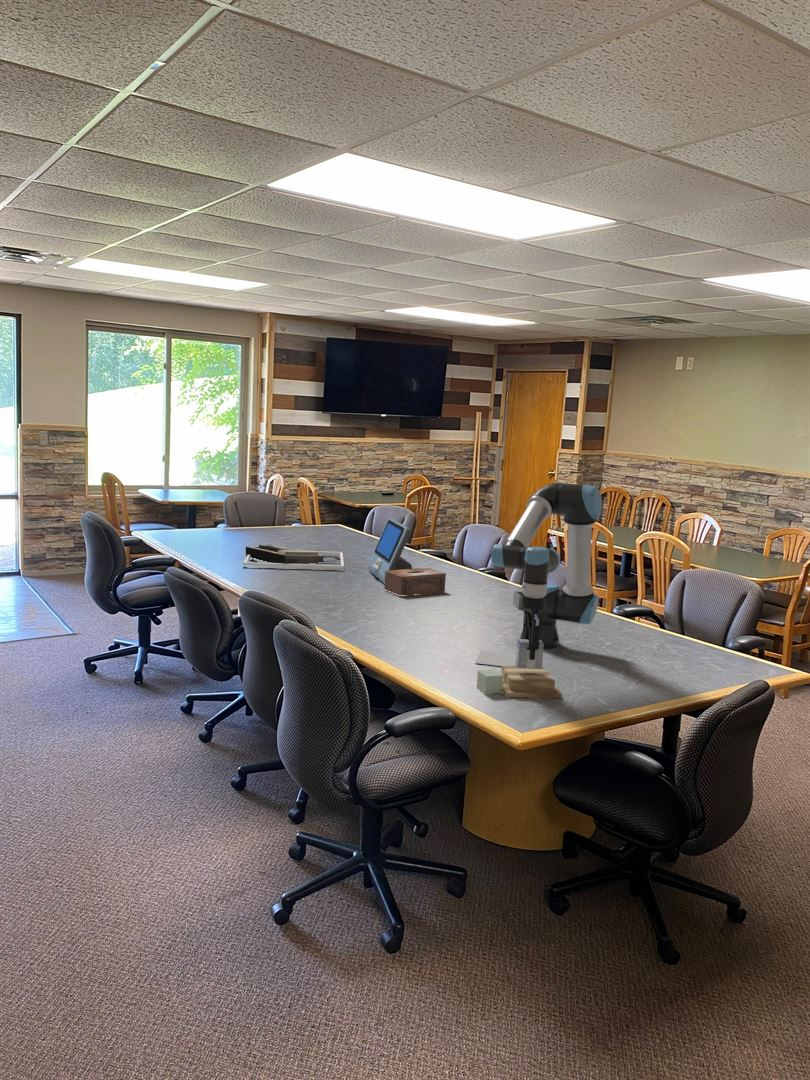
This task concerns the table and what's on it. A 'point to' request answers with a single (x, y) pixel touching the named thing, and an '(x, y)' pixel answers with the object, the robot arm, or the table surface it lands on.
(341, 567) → the document tray rim
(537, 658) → the medicine box
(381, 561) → the touchscreen device
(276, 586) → the table surface
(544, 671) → the pedestal
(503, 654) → the paper stack
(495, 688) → the green block
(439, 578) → the tissue box cover
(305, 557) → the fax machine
